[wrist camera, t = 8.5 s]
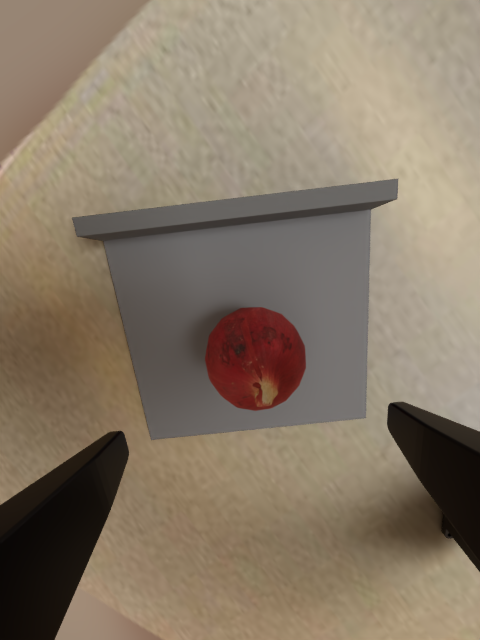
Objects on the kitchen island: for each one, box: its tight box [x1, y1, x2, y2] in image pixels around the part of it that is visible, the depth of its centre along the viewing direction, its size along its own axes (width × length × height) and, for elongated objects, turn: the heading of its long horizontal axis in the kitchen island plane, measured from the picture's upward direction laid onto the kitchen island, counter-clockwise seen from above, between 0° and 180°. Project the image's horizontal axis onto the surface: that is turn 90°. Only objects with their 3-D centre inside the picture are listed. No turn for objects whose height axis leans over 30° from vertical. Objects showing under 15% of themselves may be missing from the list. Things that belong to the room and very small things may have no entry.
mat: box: [72, 179, 398, 440], centre depth 16 cm, size 18×17×3 cm
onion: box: [205, 307, 306, 411], centre depth 13 cm, size 6×6×8 cm
